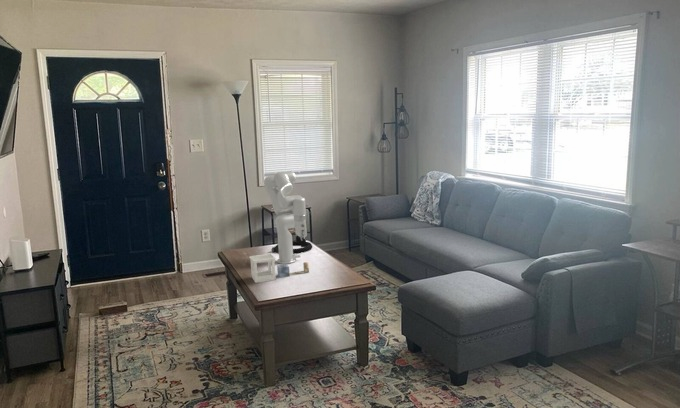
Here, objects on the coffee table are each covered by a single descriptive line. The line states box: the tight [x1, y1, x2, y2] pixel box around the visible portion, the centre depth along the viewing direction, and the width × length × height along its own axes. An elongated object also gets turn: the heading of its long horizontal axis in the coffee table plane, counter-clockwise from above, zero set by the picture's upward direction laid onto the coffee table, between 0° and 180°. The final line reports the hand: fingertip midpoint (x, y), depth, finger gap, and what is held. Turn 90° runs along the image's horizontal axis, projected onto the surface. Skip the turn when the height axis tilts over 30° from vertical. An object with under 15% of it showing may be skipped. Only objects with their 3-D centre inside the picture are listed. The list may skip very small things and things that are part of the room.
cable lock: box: [271, 240, 313, 254], centre depth 381 cm, size 28×4×30 cm
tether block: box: [276, 261, 310, 278], centre depth 320 cm, size 19×6×6 cm, turn 110°
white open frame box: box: [249, 253, 276, 284], centre depth 313 cm, size 13×13×13 cm
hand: (301, 244), depth 322 cm, fingers open, 9 cm apart
